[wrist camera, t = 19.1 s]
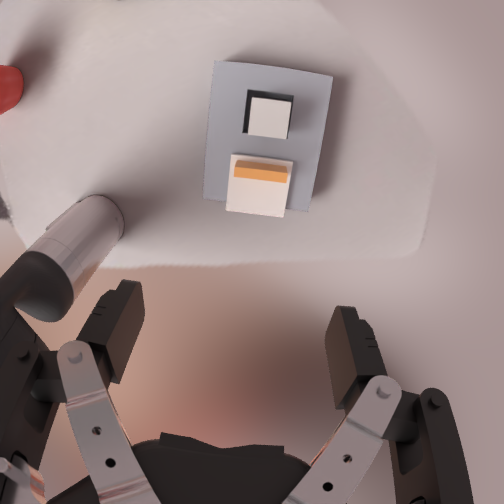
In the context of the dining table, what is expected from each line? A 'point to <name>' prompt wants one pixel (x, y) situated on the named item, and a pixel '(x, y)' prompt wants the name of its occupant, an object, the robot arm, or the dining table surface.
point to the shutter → (258, 185)
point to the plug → (269, 117)
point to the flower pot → (10, 87)
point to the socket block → (239, 142)
